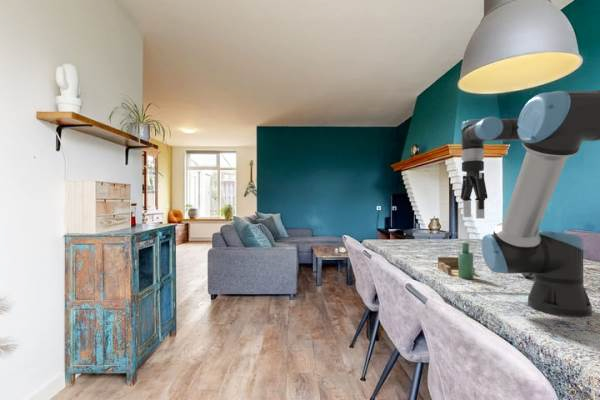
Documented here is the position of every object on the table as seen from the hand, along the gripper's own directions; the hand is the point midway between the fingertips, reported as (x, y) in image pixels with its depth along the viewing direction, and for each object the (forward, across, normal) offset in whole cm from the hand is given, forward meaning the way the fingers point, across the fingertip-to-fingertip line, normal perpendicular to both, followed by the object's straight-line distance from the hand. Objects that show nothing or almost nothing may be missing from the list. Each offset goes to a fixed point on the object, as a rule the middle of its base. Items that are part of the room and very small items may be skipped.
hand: (473, 217), depth 128 cm
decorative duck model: (+26, +14, -30) cm, 42 cm away
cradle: (+26, +17, 0) cm, 31 cm away
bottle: (+25, +8, 0) cm, 26 cm away
